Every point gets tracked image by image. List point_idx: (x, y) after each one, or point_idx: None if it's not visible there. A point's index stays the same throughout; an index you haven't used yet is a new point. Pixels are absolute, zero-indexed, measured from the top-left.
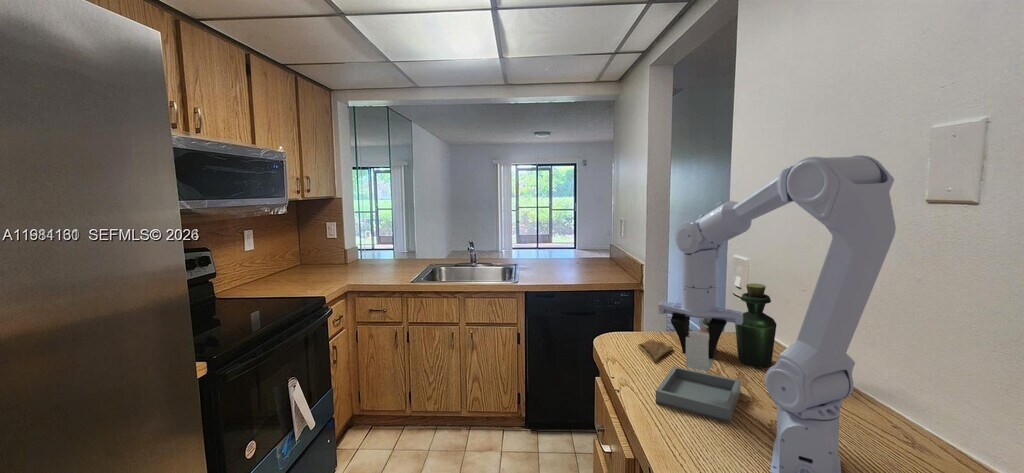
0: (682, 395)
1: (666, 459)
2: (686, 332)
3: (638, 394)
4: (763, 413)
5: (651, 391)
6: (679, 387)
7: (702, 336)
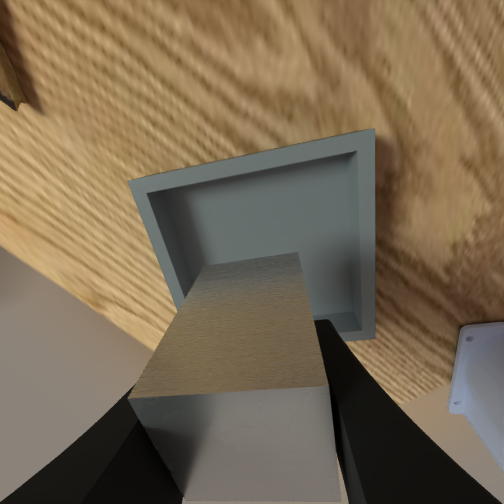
0: None
1: None
2: (155, 496)
3: (153, 320)
4: (434, 223)
5: (163, 292)
6: (204, 245)
7: (273, 462)
